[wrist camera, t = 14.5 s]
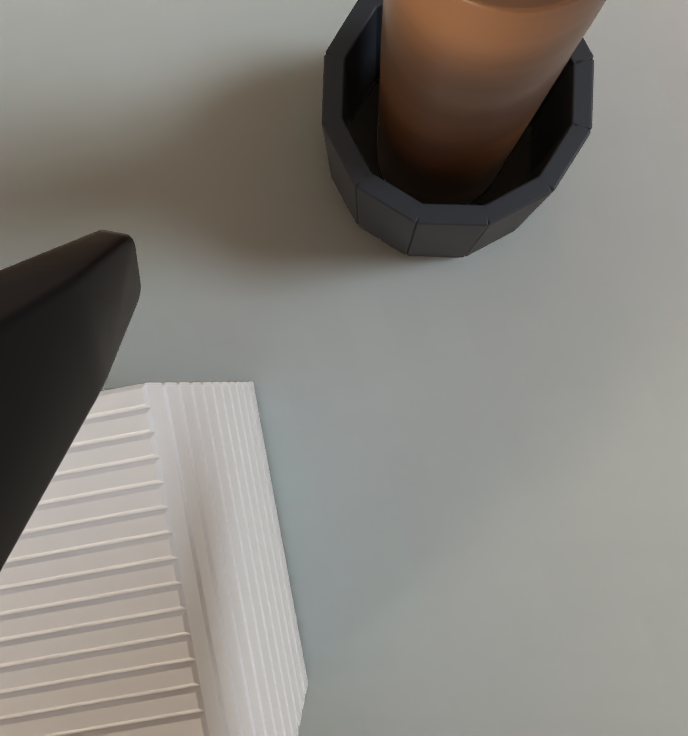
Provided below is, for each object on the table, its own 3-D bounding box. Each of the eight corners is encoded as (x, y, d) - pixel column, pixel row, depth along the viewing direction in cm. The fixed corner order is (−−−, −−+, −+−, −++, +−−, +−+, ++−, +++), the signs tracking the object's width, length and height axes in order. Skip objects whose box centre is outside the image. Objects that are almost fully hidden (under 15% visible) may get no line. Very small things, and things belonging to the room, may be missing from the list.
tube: (394, 294, 22) (401, 272, 18) (294, 107, 22) (275, 38, 18) (586, 192, 22) (642, 144, 17) (483, 5, 22) (512, -91, 18)
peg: (413, 233, 22) (467, 59, 10) (354, 124, 22) (340, -172, 10) (524, 174, 22) (710, -72, 10) (464, 65, 22) (579, -303, 10)
